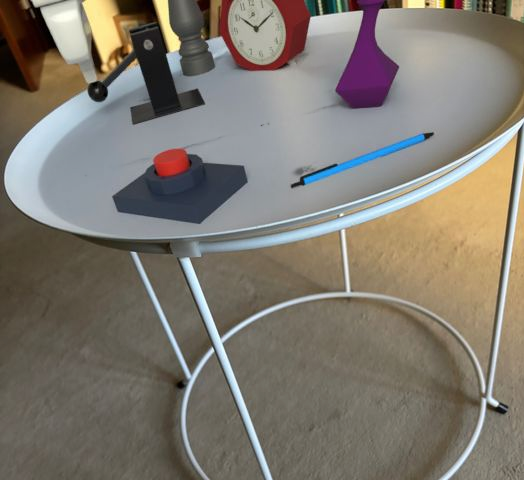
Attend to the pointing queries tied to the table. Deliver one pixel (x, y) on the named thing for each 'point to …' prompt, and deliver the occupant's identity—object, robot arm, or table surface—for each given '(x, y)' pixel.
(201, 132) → the table surface
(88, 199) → the table surface
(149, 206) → the button box
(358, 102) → the purple vase
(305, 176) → the pen
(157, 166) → the button
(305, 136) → the table surface
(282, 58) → the alarm clock
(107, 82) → the lever
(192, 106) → the bracket
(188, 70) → the candle holder
